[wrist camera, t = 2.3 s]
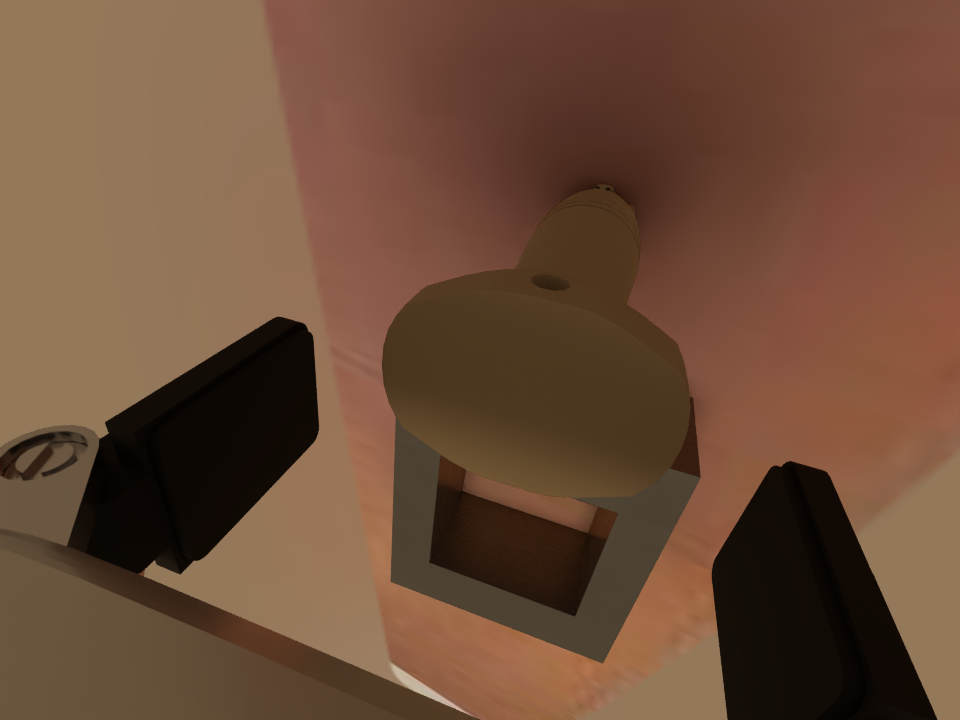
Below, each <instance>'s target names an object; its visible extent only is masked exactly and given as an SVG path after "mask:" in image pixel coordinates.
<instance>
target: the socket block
mask: <svg viewBox="0 0 960 720" xmlns="http://www.w3.org/2000/svg"><path fill="white" fill-rule="evenodd" d="M464 476H465V469H464V468H462V467H460V466H458V465H457V464H455V463H453V462H451V461H450V460H448V459H447V458H445V457H444V456H442V455H441V454H439V453H438V452H437V451H435V450H434V449H432V448H431V447H429V446H428V445H426V444H425V443H424V442H422V441H421V440H419V439H418V438H417V437H415V436H414V435H412V434H411V433H410V432H408V431H407V430H406V429H404V428H403V427H402V425H401V424H400V422H399V420H398V419H397V417H396V431H395V463H394V494H393V525H392V557H391V582H393V583H395V584H398V585H401V586H403V587H406V588H408V589H411V590H414V591H416V592H419V593H421V594H424V595H426V596H429V597H432V598H434V599H437V600H439V601H442V602H445V603H447V604H450V605H452V606H455V607H458V608H460V609H463V610H465V611H468V612H471V613H473V614H476V615H478V616H481V617H484V618H486V619H489V620H491V621H494V622H497V623H499V624H502V625H504V626H507V627H510V628H512V629H515V630H517V631H520V632H522V633H525V634H528V635H530V636H533V637H535V638H538V639H541V640H543V641H546V642H548V643H551V644H554V645H556V646H559V647H561V648H564V649H567V650H569V651H572V652H574V653H577V654H580V655H582V656H585V657H587V658H590V659H593V660H595V661H598V662H600V663H603V662H604V660H605V658H606V657H607V655H608V653H609V651H610V649H611V647H612V645H613V643H614V641H615V639H616V638H617V636H618V634H619V632H620V630H621V628H622V626H623V624H624V622H625V620H626V619H627V617H628V615H629V613H630V611H631V609H632V607H633V605H634V603H635V601H636V600H637V598H638V596H639V594H640V592H641V590H642V588H643V586H644V584H645V582H646V581H647V579H648V577H649V575H650V573H651V571H652V569H653V567H654V565H655V563H656V562H657V560H658V558H659V556H660V554H661V552H662V550H663V548H664V546H665V544H666V543H667V541H668V539H669V537H670V535H671V533H672V531H673V529H674V527H675V525H676V524H677V522H678V520H679V518H680V516H681V514H682V512H683V510H684V508H685V506H686V505H687V503H688V501H689V499H690V497H691V495H692V493H693V491H694V489H695V487H696V486H697V484H698V482H699V480H700V478H701V477H700V466H699V456H698V446H697V435H696V425H695V415H694V405H693V398H690V417H689V428H688V431H687V434H686V437H685V440H684V443H683V446H682V449H681V450H680V452H679V454H678V456H677V457H676V459H675V461H674V463H673V464H672V466H671V467H670V468H669V469H668V470H667V472H666V473H665V474H664V475H663V476H662V477H661V478H660V480H658V481H657V482H655V483H654V484H652V485H651V486H650V487H648V488H647V489H645V490H643V491H641V492H639V493H637V494H635V495H633V496H629V497H595V498H573V499H576V500H579V501H582V502H585V503H588V504H591V505H595V506H598V509H597V512H596V514H595V517H594V519H593V522H592V525H591V527H590V530H589V533H588V534H586V533H583V532H580V531H577V530H574V529H571V528H568V527H565V526H562V525H559V524H556V523H553V522H550V521H547V520H544V519H541V518H538V517H535V516H532V515H529V514H526V513H523V512H520V511H517V510H514V509H511V508H508V507H505V506H502V505H499V504H496V503H493V502H490V501H487V500H484V499H481V498H479V497H476V496H473V495H470V494H467V493H464V492H462V490H463V483H464Z"/></svg>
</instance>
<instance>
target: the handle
mask: <svg viewBox="0 0 960 720" xmlns="http://www.w3.org/2000/svg"><path fill="white" fill-rule="evenodd" d="M639 257H640V236H639V229H638V224H637V221H636V214H635V210H634V207H633V206H632V205H628V204H627V203H626V202H625V201H624V200H623V199H622V198H621V197H620V196H618V195H617V194H616V193H615V192H614V188H613V187H612V186H610V185H606V184H599V185H597V186H596V187H595V188H594V189H589V190H584V191H581V192H578V193H576V194H573V195H572V196H570V197H568V198H567V199H565V200H563V201H562V202H561V203H560V204H558V205H557V206H556V207H555V208H554V209H552V210H551V211H550V212H549V213H548V215H547V216H546V217H545V218H544V219H543V220H542V222H541V223H540V224H539V226H538V227H537V229H536V230H535V232H534V233H533V235H532V237H531V239H530V241H529V243H528V245H527V247H526V249H525V251H524V253H523V255H522V257H521V259H520V260H519V262H518V264H517V266H516V268H515V269H504V270H495V271H486V272H481V273H476V274H471V275H466V276H462V277H458V278H454V279H450V280H446V281H443V282H439V283H436V284H432V285H429V286H427V287H425V288H423V289H422V290H421V291H420V292H419V293H418V294H417V295H415V296H414V297H413V298H412V299H411V300H410V301H409V302H408V303H407V304H406V305H405V306H404V307H403V308H402V309H401V311H400V312H399V313H398V314H397V315H396V317H395V319H394V320H393V322H392V324H391V325H390V327H389V329H388V332H387V335H386V339H385V343H384V347H383V359H382V370H383V381H384V387H385V390H386V394H387V398H388V401H389V404H390V406H391V408H392V410H393V412H394V414H395V416H396V417H397V419H398V420H399V422H400V424H401V425H402V427H403V428H404V429H406V430H407V431H408V432H410V433H411V434H412V435H414V436H415V437H417V438H418V439H419V440H421V441H422V442H424V443H425V444H426V445H428V446H429V447H431V448H432V449H434V450H435V451H437V452H438V453H439V454H441V455H442V456H444V457H445V458H447V459H448V460H450V461H451V462H453V463H455V464H457V465H458V466H460V467H462V468H464V469H465V470H467V471H469V472H472V473H475V474H477V475H480V476H482V477H485V478H487V479H491V480H494V481H497V482H500V483H503V484H507V485H510V486H513V487H516V488H519V489H523V490H526V491H530V492H534V493H538V494H542V495H547V496H555V497H568V498H595V497H629V496H633V495H635V494H637V493H639V492H641V491H643V490H645V489H647V488H648V487H650V486H651V485H652V484H654V483H655V482H657V481H658V480H660V478H661V477H662V476H663V475H664V474H665V473H666V472H667V470H668V469H669V468H670V467H671V466H672V464H673V463H674V461H675V459H676V457H677V456H678V454H679V452H680V450H681V449H682V446H683V443H684V440H685V437H686V434H687V431H688V428H689V417H690V396H689V387H688V380H687V374H686V369H685V364H684V361H683V358H682V355H681V352H680V350H679V347H678V344H677V343H676V342H675V341H674V340H673V339H671V338H670V337H669V336H668V335H667V334H665V333H664V332H663V331H662V330H661V329H660V328H658V327H657V326H656V325H654V324H653V323H652V322H651V321H649V320H648V319H647V318H645V317H644V316H643V315H641V314H640V313H639V312H637V311H636V310H634V309H633V308H631V307H630V306H628V305H627V302H628V299H629V296H630V293H631V290H632V287H633V283H634V280H635V277H636V274H637V270H638V265H639Z"/></svg>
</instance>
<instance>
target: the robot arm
mask: <svg viewBox="0 0 960 720" xmlns="http://www.w3.org/2000/svg"><path fill="white" fill-rule="evenodd" d="M105 424H106V427H107V429H108V432H109V434H107V435H106V436H104V437H102V438H101V439H99V437H98V436H97V435H96V433H95V432H94V431H92V430H90V429H88V428H86V427H81V426H75V425H67V426H66V425H65V426H53V427H48V428H43V429H39V430H36V431H33V432H30V433H27V434H24V435H22V436H20V437H18V438H16V439H14V440H12V441H10V442H8V443H6V444H4V445H3V446H2V447H0V720H479V719H477V718H475V717H473V716H470V715H468V714H466V713H463V712H461V711H459V710H456V709H454V708H452V707H449V706H447V705H445V704H442V703H440V702H438V701H435V700H433V699H431V698H428V697H426V696H424V695H421V694H419V693H417V692H414V691H412V690H410V689H407V688H405V687H403V686H400V685H398V684H396V683H393V682H391V681H389V680H386V679H384V678H382V677H379V676H377V675H375V674H373V673H370V672H368V671H365V670H363V669H361V668H359V667H356V666H354V665H352V664H349V663H347V662H344V661H342V660H340V659H337V658H335V657H333V656H330V655H328V654H326V653H323V652H321V651H318V650H316V649H314V648H312V647H309V646H307V645H305V644H302V643H300V642H298V641H295V640H293V639H291V638H288V637H286V636H284V635H281V634H279V633H276V632H274V631H272V630H269V629H267V628H265V627H262V626H260V625H258V624H255V623H253V622H250V621H248V620H246V619H243V618H241V617H239V616H236V615H234V614H232V613H229V612H227V611H224V610H222V609H220V608H217V607H215V606H212V605H210V604H208V603H205V602H203V601H201V600H199V599H196V598H194V597H191V596H189V595H187V594H184V593H182V592H179V591H177V590H175V589H172V588H170V587H168V586H165V585H163V584H161V583H158V582H156V581H154V580H151V579H148V578H146V577H144V571H145V568H147V567H148V566H149V565H150V564H151V563H152V562H153V561H154V560H155V561H156V564H157V565H159V566H161V567H164V568H166V569H168V570H171V571H173V572H175V573H178V574H181V573H182V572H183V571H184V570H185V569H186V568H187V567H188V566H189V565H190V564H191V563H192V562H193V561H194V560H195V561H198V560H200V559H202V558H204V557H205V556H206V555H207V554H208V553H209V552H210V551H211V550H212V549H213V548H214V547H215V546H216V545H217V544H218V543H219V542H220V540H221V539H223V537H224V536H225V535H226V534H227V533H228V532H229V531H230V530H231V529H232V528H233V527H234V526H235V525H236V524H237V523H238V522H239V521H240V519H242V517H243V516H244V515H245V514H246V513H247V512H248V511H249V510H250V509H251V508H252V507H253V506H254V505H255V504H256V503H257V502H258V501H259V500H260V499H261V497H262V496H263V495H264V494H265V493H266V492H267V491H268V490H269V489H270V488H271V487H272V486H273V485H274V483H276V482H277V480H279V478H280V477H281V476H282V475H283V474H284V473H285V472H286V471H287V470H288V469H289V468H290V467H291V466H292V465H293V464H294V463H295V462H296V461H297V460H298V459H299V458H300V456H301V455H302V454H303V453H304V452H305V451H306V450H307V449H308V448H309V447H310V446H311V445H312V444H313V442H314V441H315V439H316V438H317V435H318V431H319V419H318V404H317V388H316V372H315V357H314V341H313V335H312V334H311V333H310V332H308V329H307V327H306V325H305V324H303V323H301V322H297V321H294V320H290V319H287V318H283V317H276V318H273V319H272V320H270V321H268V322H267V323H265V324H264V325H262V326H260V327H259V328H257V329H255V330H254V331H252V332H251V333H249V334H247V335H246V336H244V337H243V338H241V339H239V340H238V341H236V342H235V343H233V344H231V345H230V346H228V347H226V348H225V349H223V350H221V351H220V352H218V353H217V354H215V355H213V356H212V357H210V358H209V359H207V360H205V361H204V362H202V363H200V364H199V365H197V366H195V367H194V368H192V369H191V370H189V371H187V372H186V373H184V374H183V375H181V376H180V377H178V378H176V379H174V380H173V381H171V382H170V383H168V384H166V385H165V386H163V387H161V388H160V389H158V390H157V391H155V392H153V393H152V394H150V395H149V396H147V397H145V398H144V399H142V400H141V401H139V402H137V403H136V404H134V405H132V406H131V407H129V408H128V409H126V410H124V411H123V412H121V413H120V414H118V415H116V416H114V417H113V418H111V419H110V420H108V421H106V422H105ZM712 584H713V593H714V602H715V611H716V620H717V629H718V637H719V647H720V656H721V665H722V674H723V682H724V691H725V700H726V709H727V718H728V720H937V718H936V716H935V713H934V711H933V708H932V706H931V704H930V702H929V699H928V697H927V695H926V693H925V690H924V688H923V686H922V683H921V681H920V679H919V677H918V674H917V672H916V670H915V668H914V665H913V663H912V661H911V659H910V656H909V654H908V652H907V650H906V647H905V645H904V643H903V640H902V638H901V636H900V634H899V631H898V629H897V627H896V624H895V622H894V620H893V618H892V616H891V613H890V611H889V609H888V606H887V604H886V602H885V600H884V597H883V595H882V593H881V591H880V588H879V586H878V584H877V581H876V579H875V577H874V575H873V573H872V571H871V569H870V567H869V564H868V562H867V560H866V558H865V555H864V553H863V551H862V549H861V546H860V544H859V542H858V539H857V537H856V535H855V533H854V530H853V528H852V526H851V524H850V521H849V519H848V517H847V514H846V512H845V510H844V508H843V505H842V503H841V501H840V499H839V496H838V494H837V492H836V489H835V487H834V485H833V483H832V480H831V478H830V476H829V475H828V473H827V472H825V471H823V470H820V469H816V468H813V467H809V466H806V465H802V464H799V463H795V462H792V461H789V462H786V463H785V464H783V466H782V467H780V466H773V467H771V468H770V470H769V471H768V473H767V474H766V476H765V478H764V479H763V481H762V483H761V484H760V486H759V487H758V489H757V491H756V492H755V494H754V496H753V497H752V499H751V501H750V502H749V504H748V505H747V507H746V509H745V510H744V512H743V514H742V515H741V517H740V519H739V520H738V522H737V524H736V525H735V527H734V528H733V530H732V532H731V533H730V535H729V537H728V538H727V540H726V542H725V543H724V545H723V546H722V548H721V550H720V551H719V553H718V555H717V556H716V558H715V560H714V563H713V568H712Z"/></svg>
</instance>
